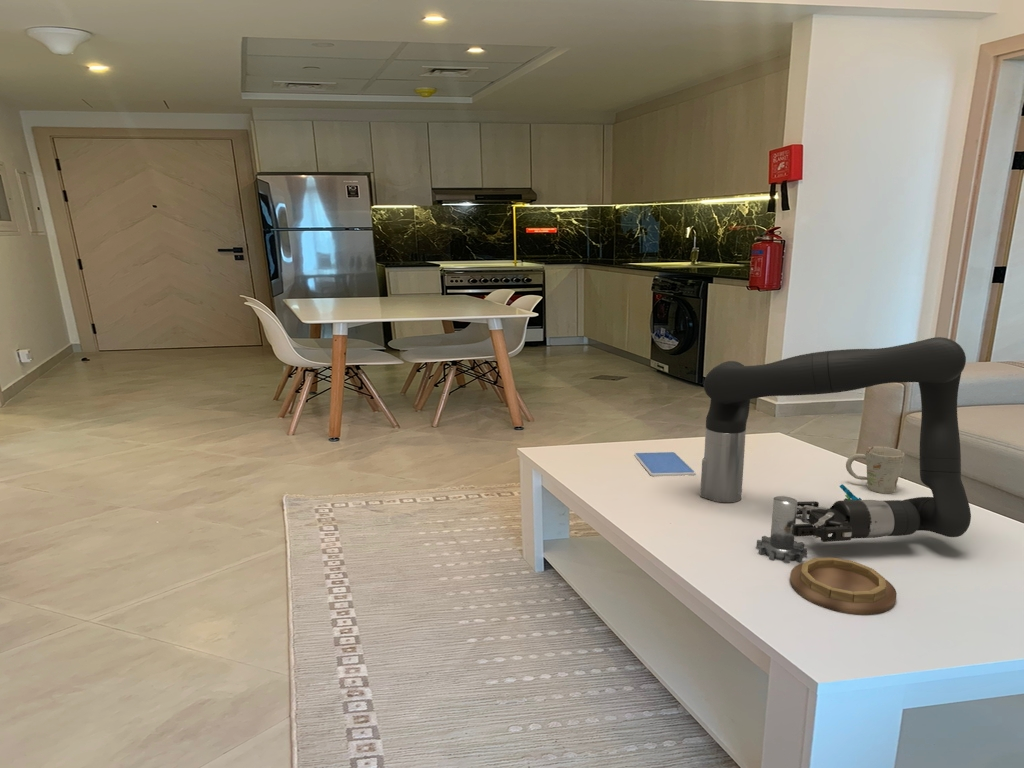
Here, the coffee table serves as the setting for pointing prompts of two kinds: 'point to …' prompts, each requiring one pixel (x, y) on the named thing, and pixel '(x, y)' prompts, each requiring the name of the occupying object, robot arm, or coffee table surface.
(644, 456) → the blue flat plate
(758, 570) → the coffee table surface
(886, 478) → the mug
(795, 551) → the gear
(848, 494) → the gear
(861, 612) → the carrier disc
